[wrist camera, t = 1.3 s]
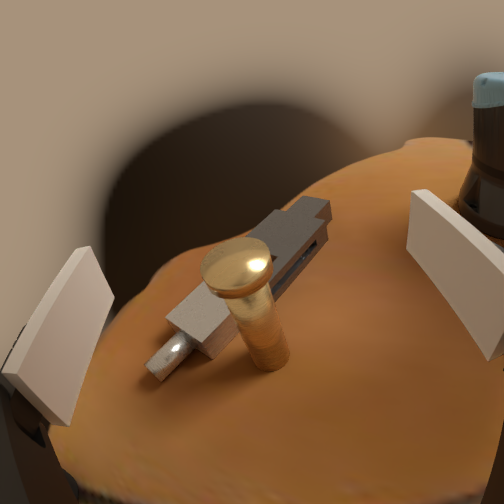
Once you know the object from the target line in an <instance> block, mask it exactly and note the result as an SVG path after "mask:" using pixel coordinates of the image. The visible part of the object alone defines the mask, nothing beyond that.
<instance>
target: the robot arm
mask: <svg viewBox="0 0 504 504" xmlns="http://www.w3.org/2000/svg"><path fill="white" fill-rule="evenodd" d="M472 106H473V107H474V129H473V130H474V131H473V154H472V164H471V166H470V169H469V171H468V173H467V176H466V178H465V180H464V183H463V185H462V187H461V190H460V194H459V203H458V206H459V210H460V212H461V214H462V216H463V217H464V218H465V219H466V220H465V219H464V218H463V217H462V216H460V215H459V214H458V213H457V212H456V211H454V210H453V209H452V208H451V207H449V206H448V205H447V204H445V203H444V202H443V201H442V200H440V199H439V198H438V197H436V196H435V195H434V194H432V193H431V192H430V191H428V190H427V189H423V190H414V191H411V203H410V217H409V228H408V238H407V247H406V249H407V251H408V252H409V253H410V254H411V255H412V257H413V258H414V259H415V260H416V262H417V263H418V264H419V265H420V267H421V268H422V269H423V270H424V272H425V273H426V274H427V275H428V277H429V278H430V279H431V281H432V282H433V283H434V284H435V286H436V287H437V288H438V290H439V291H440V292H441V294H442V295H443V296H444V298H445V299H446V300H447V302H448V303H449V305H450V306H451V307H452V309H453V310H454V312H455V313H456V314H457V316H458V317H459V319H460V320H461V321H462V323H463V324H464V326H465V327H466V329H467V330H468V332H469V333H470V335H471V336H472V338H473V339H474V341H475V342H476V344H477V345H478V347H479V348H480V350H481V352H482V353H483V355H484V356H485V358H486V359H487V361H491V360H493V359H495V358H497V357H499V356H501V355H503V354H504V248H503V247H501V246H499V245H498V244H496V243H494V242H492V241H490V240H489V239H487V238H486V237H485V236H484V235H483V234H482V233H481V232H480V231H482V232H484V233H486V234H488V235H491V236H494V237H497V238H502V239H504V72H490V73H483V74H480V75H478V76H477V77H476V78H475V80H474V83H473V101H472ZM476 228H477V229H478V230H480V231H478V230H477V229H476ZM113 300H114V296H113V294H112V292H111V289H110V287H109V286H108V283H107V281H106V279H105V277H104V275H103V273H102V271H101V269H100V266H99V264H98V262H97V260H96V258H95V255H94V253H93V251H92V248H91V246H87V247H82V248H78V249H75V251H74V252H73V254H72V255H71V256H70V258H69V259H68V261H67V262H66V264H65V265H64V266H63V268H62V269H61V271H60V272H59V274H58V275H57V277H56V278H55V280H54V281H53V283H52V284H51V286H50V287H49V289H48V291H47V292H46V294H45V295H44V297H43V299H42V300H41V302H40V303H39V305H38V306H37V308H36V310H35V311H34V313H33V315H32V316H31V318H30V320H29V321H28V323H27V324H26V325H25V326H24V327H23V329H22V330H21V332H20V334H19V336H18V337H17V340H16V341H15V343H14V345H13V349H11V350H10V352H9V354H8V356H7V358H6V360H5V362H4V364H3V366H2V368H1V370H0V504H79V502H78V501H77V499H76V497H75V495H74V493H73V491H72V489H71V487H70V485H69V483H68V481H67V479H66V477H65V474H64V472H63V470H62V468H61V466H60V463H59V461H58V459H57V456H56V454H55V451H54V449H53V446H52V444H51V441H50V439H49V436H48V433H47V431H46V428H45V427H44V425H43V424H42V423H41V422H40V420H41V417H42V415H43V416H44V417H45V418H46V419H47V420H48V421H50V423H51V424H53V425H59V426H66V427H69V426H70V423H71V419H72V416H73V412H74V409H75V406H76V402H77V399H78V396H79V393H80V390H81V386H82V383H83V380H84V377H85V374H86V371H87V369H88V366H89V363H90V360H91V357H92V354H93V352H94V349H95V346H96V343H97V341H98V338H99V335H100V333H101V330H102V328H103V325H104V322H105V320H106V317H107V315H108V312H109V310H110V307H111V305H112V302H113ZM503 371H504V369H503ZM481 504H504V422H503V427H502V432H501V436H500V441H499V445H498V449H497V453H496V457H495V461H494V464H493V468H492V471H491V474H490V478H489V481H488V484H487V487H486V490H485V493H484V496H483V498H482V501H481Z"/></svg>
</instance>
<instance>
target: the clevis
mask: <svg viewBox="0 0 504 504" xmlns="http://www.w3.org/2000/svg"><path fill="white" fill-rule="evenodd" d="M331 220H332V214H331V207H330V200H324V199H319V198H314V197H308V196H302V197H301V198H300V199H299V200H298V201H297V202H295V203H294V204H293V205H292V206H291V207H290V208H289V209H288V210H287V211H281V210H276V209H275V210H274V211H273V212H272V213H271V214H270V215H269V216H268V217H266V218H265V219H264V220H263V221H262V222H261V223H260V224H259V225H258V226H256V227H255V228H254V229H253V230H252V231H251V232H250V233H249V234H248V235H246V236H245V237H250V238H256V239H259V240H261V241H263V242H264V243H265V244H266V245H267V246H268V249H269V252H270V255H271V259H272V262H273V274H272V276H271V278H270V280H269V281H268V283H269V287H270V290H271V293H272V296H273V300H274V303H275V301H276V300H277V299H278V298H279V297H280V296H281V295H282V293H283V292H284V291H285V290H286V289H287V288H288V287H289V285H290V284H291V283H292V282H293V281H294V280H295V278H296V277H297V276H298V275H299V274H300V273H301V271H302V270H303V269H304V268H305V267H306V266H307V264H308V263H309V262H310V261H311V260H312V258H313V257H314V256H315V255H316V254H317V253H318V251H319V250H320V249H321V248H322V247H323V245H324V244H325V243H326V242H327V240H328V235H327V227H326V226H327V224H328V223H329V222H330V221H331ZM202 278H203V277H202ZM203 280H204V279H203ZM165 318H166V320H167V321H168V323H169V324H170V326H171V327H172V329H173V330H174V331H175V333H176V334H175V335H174V336H173V337H172V338H170V339H169V340H168V341H167V342H166V343H165V344H164V345H163V346H162V347H161V348H160V349H159V350H158V351H157V352H156V353H155V354H154V355H153V356H152V357H151V358H150V359H149V360H148V361H147V362H146V363H145V364H144V365H145V366H146V367H147V369H148V370H149V371H150V372H151V373H152V374H153V375H154V376H155V377H156V378H158V379H159V380H160V381H161V382H162V381H163V380H164V379H165V378H166V377H167V376H168V375H169V374H170V373H171V372H172V371H173V370H174V369H175V368H176V367H177V366H178V365H179V364H180V363H181V362H182V361H183V360H184V359H185V358H186V357H187V356H188V355H189V354H190V353H191V352H192V351H193V350H194V349H195V348H196V349H198V350H199V351H201V352H202V353H203V354H205V355H206V356H208V357H209V358H211V359H212V360H213V359H214V358H215V357H216V356H217V355H218V354H219V353H220V352H221V351H222V350H223V349H224V348H225V346H226V345H227V344H228V343H229V342H230V341H231V340H232V339H233V338H234V337H235V336H236V335H237V334H238V333H239V330H238V328H237V326H236V324H235V322H234V320H233V318H232V315H231V313H230V311H229V309H228V307H227V305H226V303H225V300H224V299H223V298H219V297H217V296H215V295H213V294H212V293H211V292H210V291H209V289H208V287H207V285H206V283H205V281H203V282H202V283H201V284H200V285H199V286H198V287H197V288H196V289H195V290H194V291H193V292H191V293H190V294H189V295H188V296H187V297H186V298H185V299H184V300H183V301H182V302H181V303H180V304H179V305H178V306H176V307H175V308H174V309H173V310H172V311H171V312H170V313H169V314H168V315H167V316H166V317H165Z"/></svg>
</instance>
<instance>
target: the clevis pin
mask: <svg viewBox="0 0 504 504" xmlns="http://www.w3.org/2000/svg"><path fill="white" fill-rule="evenodd" d="M200 272H201V275H202V277H203V279H204V281H205V283H206V285H207V287H208V289H209V291H210V292H211V293H212V294H213V295H215V296H217V297H219V298H223V299H224V300H225V303H226V305H227V307H228V309H229V311H230V313H231V315H232V318H233V320H234V322H235V324H236V326H237V328H238V330H239V332H240V334H241V336H242V339H243V341H244V343H245V345H246V347H247V349H248V351H249V353H250V355H251V357H252V359H253V361H254V363H255V365H256V366H257V367H258V368H259V369H260V370H263V371H267V372H271V371H276V370H279V369H280V368H282V367H283V366H284V365H285V364H286V363H287V362H288V360H289V356H290V352H289V349H288V345H287V342H286V339H285V335H284V332H283V329H282V326H281V322H280V319H279V316H278V313H277V309H276V306H275V303H274V300H273V296H272V293H271V290H270V287H269V283H268V281H269V280H270V278H271V276H272V274H273V262H272V259H271V255H270V252H269V249H268V246H267V245H266V244H265V243H264V242H263V241H261V240H259V239H256V238H250V237H241V238H235V239H231V240H228V241H226V242H223V243H221V244H219V245H218V246H216V247H215V248H213V249H212V250H211V251H210V252H209V253H208V254H207V255H206V256H205V257H204V259H203V261H202V263H201V267H200Z"/></svg>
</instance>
